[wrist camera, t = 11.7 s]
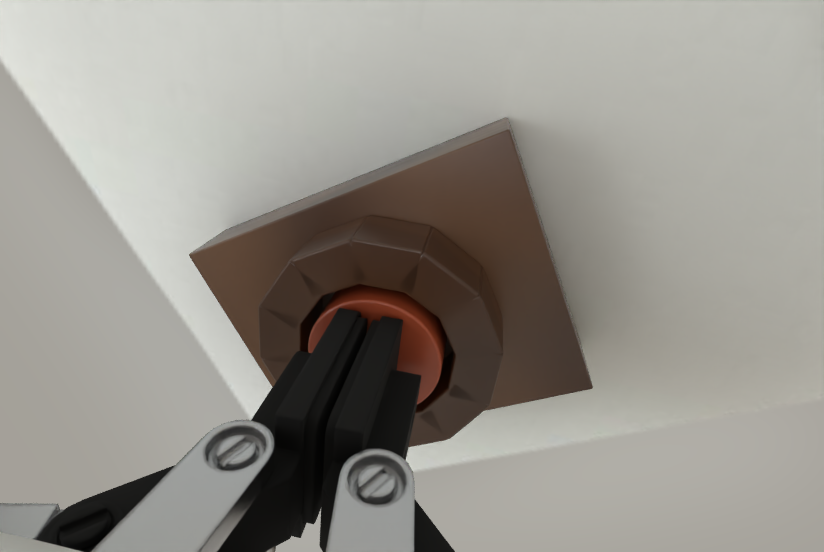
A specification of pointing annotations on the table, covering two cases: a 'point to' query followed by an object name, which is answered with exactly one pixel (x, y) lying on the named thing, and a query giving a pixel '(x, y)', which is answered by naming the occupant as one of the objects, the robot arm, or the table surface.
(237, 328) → the button block
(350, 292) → the button
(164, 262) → the table surface
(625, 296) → the table surface
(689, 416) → the table surface
